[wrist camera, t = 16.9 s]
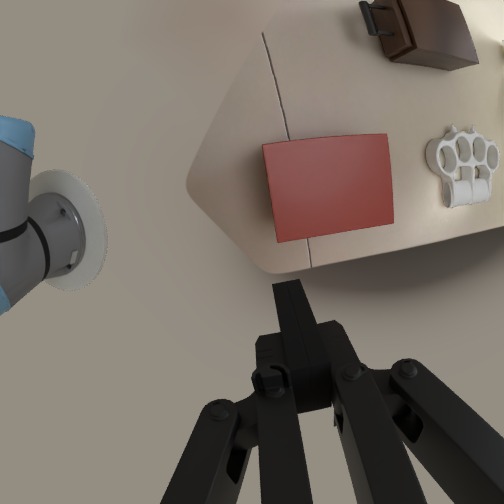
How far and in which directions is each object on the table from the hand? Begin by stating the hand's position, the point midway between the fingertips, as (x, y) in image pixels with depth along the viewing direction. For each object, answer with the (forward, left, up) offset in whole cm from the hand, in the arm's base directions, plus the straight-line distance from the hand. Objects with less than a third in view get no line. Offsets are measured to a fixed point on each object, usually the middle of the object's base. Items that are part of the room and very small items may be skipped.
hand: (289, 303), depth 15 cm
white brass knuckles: (+35, +13, -28) cm, 46 cm away
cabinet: (+23, +34, -28) cm, 50 cm away
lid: (+7, +5, -19) cm, 21 cm away
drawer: (+19, +33, -27) cm, 47 cm away
